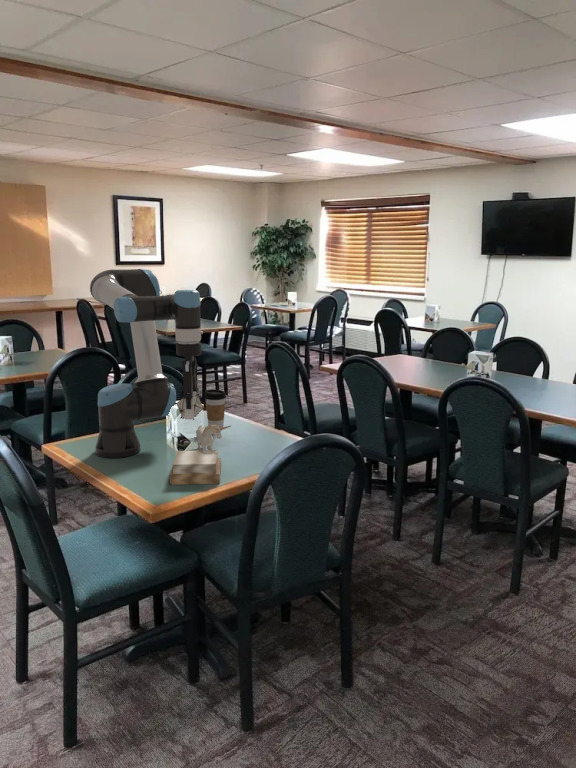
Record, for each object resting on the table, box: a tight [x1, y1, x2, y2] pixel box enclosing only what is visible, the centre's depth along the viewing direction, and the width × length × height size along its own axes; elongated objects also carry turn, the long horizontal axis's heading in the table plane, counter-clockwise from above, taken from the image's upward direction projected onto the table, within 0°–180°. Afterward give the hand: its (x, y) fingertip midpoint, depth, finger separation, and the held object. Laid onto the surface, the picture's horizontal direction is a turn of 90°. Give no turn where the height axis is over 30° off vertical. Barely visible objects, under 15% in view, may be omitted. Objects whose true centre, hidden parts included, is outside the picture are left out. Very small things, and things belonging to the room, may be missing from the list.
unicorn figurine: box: [195, 424, 232, 451], centre depth 210 cm, size 7×20×13 cm, turn 37°
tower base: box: [169, 449, 222, 486], centre depth 195 cm, size 15×15×6 cm
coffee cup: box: [204, 388, 227, 428], centre depth 246 cm, size 8×8×15 cm
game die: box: [174, 393, 206, 421], centre depth 190 cm, size 9×8×10 cm
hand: (191, 415), depth 191 cm, fingers closed on game die, 8 cm apart
